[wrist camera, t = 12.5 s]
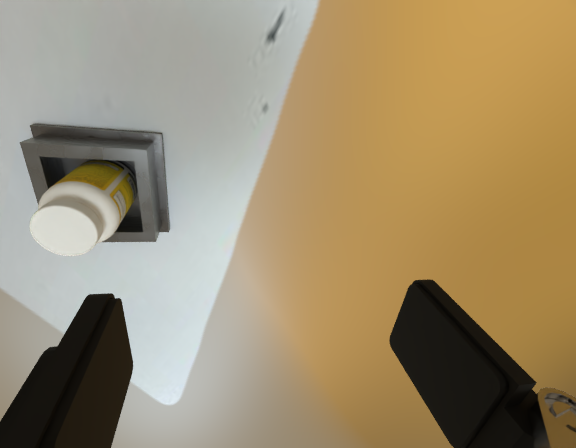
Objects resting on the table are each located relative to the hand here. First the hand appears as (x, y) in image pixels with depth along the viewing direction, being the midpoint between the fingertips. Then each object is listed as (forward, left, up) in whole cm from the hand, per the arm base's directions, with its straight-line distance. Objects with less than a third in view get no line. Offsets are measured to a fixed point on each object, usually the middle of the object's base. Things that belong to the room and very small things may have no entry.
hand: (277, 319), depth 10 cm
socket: (+6, -14, -28) cm, 32 cm away
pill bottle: (+6, -14, -28) cm, 32 cm away
